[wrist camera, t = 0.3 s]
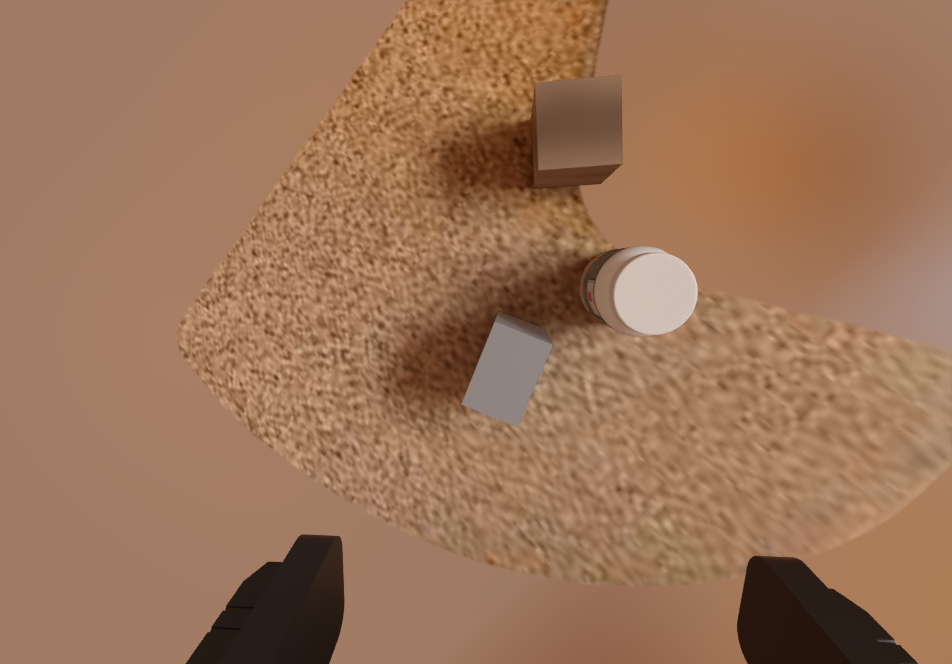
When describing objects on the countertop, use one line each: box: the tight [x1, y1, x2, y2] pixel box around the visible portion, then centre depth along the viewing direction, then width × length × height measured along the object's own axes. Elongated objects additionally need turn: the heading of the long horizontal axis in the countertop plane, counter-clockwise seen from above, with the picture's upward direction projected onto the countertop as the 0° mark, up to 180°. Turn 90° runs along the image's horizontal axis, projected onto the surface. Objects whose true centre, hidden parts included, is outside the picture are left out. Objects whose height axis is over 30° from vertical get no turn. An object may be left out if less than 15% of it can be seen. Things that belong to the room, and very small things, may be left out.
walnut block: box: [531, 75, 623, 189], centre depth 31 cm, size 5×5×7 cm
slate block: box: [461, 311, 553, 427], centre depth 34 cm, size 6×4×7 cm, turn 158°
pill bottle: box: [579, 246, 697, 337], centre depth 31 cm, size 6×6×10 cm
